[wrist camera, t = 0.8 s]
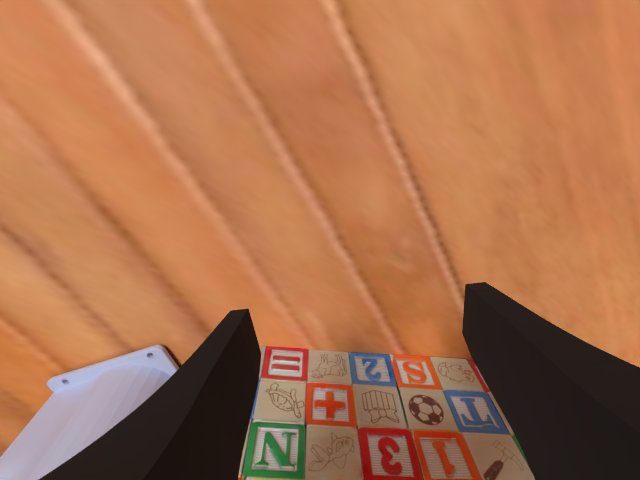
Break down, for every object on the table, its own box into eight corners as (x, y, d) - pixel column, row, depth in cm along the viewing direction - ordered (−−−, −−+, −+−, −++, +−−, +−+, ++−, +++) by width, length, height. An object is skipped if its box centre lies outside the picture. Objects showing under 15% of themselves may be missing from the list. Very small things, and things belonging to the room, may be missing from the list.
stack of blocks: (507, 357, 26) (656, 568, 15) (482, 414, 28) (592, 628, 17) (222, 341, 24) (149, 560, 13) (224, 402, 27) (164, 627, 16)
